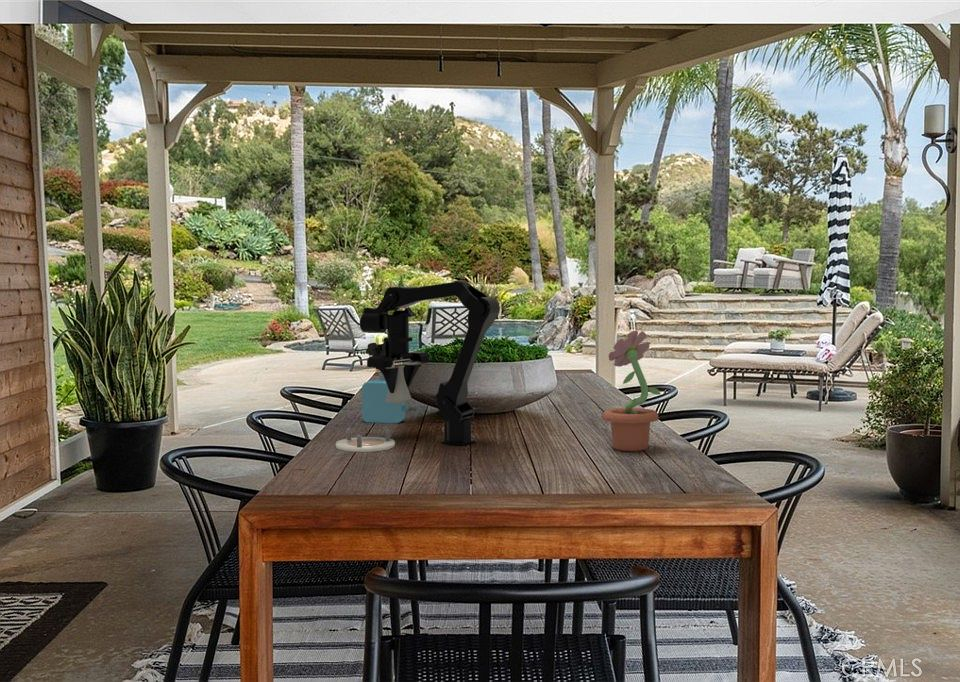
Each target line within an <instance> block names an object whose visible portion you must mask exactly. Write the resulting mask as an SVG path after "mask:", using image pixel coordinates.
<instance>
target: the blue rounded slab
mask: <svg viewBox="0 0 960 682" xmlns="http://www.w3.org/2000/svg"><path fill="white" fill-rule="evenodd" d="M388 392H389V389H388V386H387V383H386V381H380V380H371V379H370V380H368V381H366V382H364V383H363V384H362V386H361V399H362V400H361V405H362V406H361V407H362V408H361V409H362V410H361V414H362V415H361V416H362V420H363V421H364V422H365V423H376V424H379V423H380V424H398V423H401V422H402V421H404V420H405V418H406V411H405V403H387V402H386V398H387V395H388Z"/></svg>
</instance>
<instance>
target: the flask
mask: <svg viewBox="0 0 960 682" xmlns="http://www.w3.org/2000/svg"><path fill="white" fill-rule="evenodd" d="M395 368H398V373H397V379H396V385H395V390H394V393H390V392H388V395H387V398H386V402H387V403H408V402H409V403H411V402H413V399H412V396H411V393H409V390H408V388H407V385H406V382H405V378H404V371H403V368H404V365H402V363H395Z"/></svg>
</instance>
